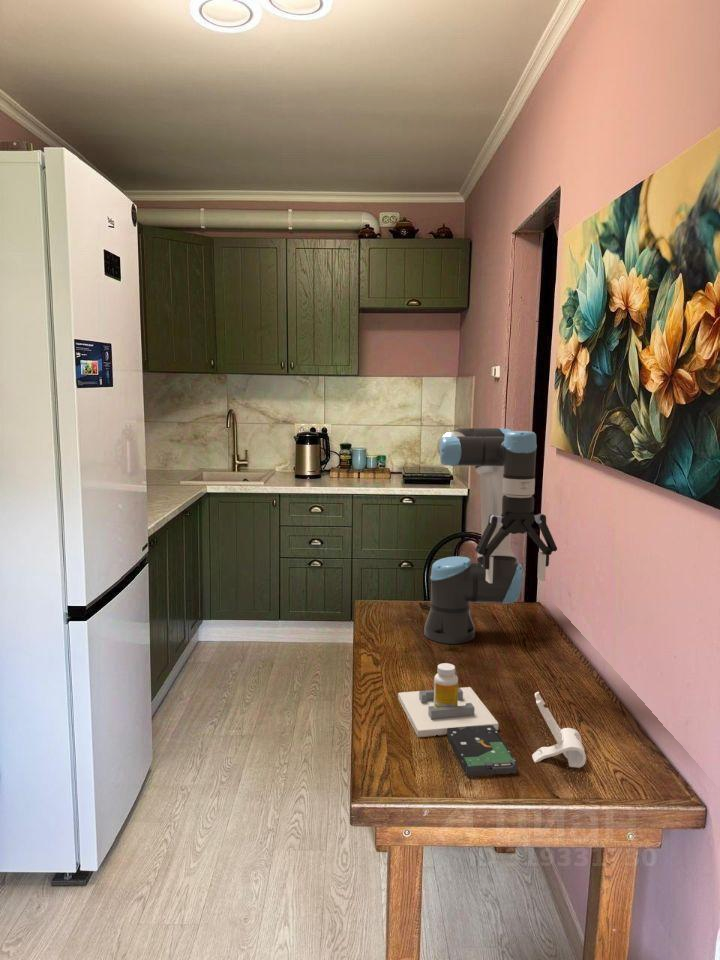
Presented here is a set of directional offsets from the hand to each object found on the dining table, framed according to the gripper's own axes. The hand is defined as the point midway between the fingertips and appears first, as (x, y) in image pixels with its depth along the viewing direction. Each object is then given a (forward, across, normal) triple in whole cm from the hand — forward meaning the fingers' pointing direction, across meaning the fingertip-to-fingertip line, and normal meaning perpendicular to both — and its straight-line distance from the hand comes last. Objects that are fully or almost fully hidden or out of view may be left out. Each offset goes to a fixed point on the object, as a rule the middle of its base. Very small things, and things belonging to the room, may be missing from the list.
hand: (515, 580), depth 162 cm
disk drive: (+27, -19, -30) cm, 45 cm away
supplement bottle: (+25, -21, -12) cm, 35 cm away
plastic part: (+27, -4, -33) cm, 43 cm away
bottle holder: (+27, -21, -12) cm, 36 cm away
